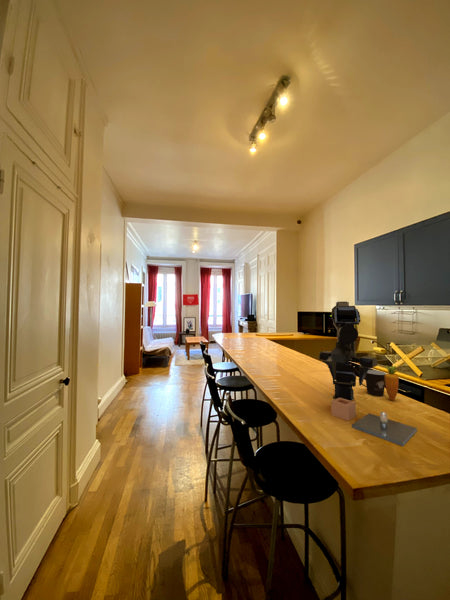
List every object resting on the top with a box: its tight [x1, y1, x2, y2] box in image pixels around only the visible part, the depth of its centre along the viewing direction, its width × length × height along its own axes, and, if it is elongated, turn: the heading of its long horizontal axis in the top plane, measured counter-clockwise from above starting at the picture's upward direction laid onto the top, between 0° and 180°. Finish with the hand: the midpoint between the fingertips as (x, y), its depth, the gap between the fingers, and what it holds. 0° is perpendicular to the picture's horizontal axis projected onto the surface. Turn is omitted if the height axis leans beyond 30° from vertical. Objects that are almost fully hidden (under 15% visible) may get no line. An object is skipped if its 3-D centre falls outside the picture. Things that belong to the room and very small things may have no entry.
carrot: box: [385, 365, 399, 402], centre depth 104 cm, size 5×5×15 cm
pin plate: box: [351, 411, 418, 447], centre depth 79 cm, size 14×14×6 cm
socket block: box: [330, 398, 357, 422], centre depth 89 cm, size 6×6×5 cm
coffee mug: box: [361, 369, 387, 398], centre depth 113 cm, size 12×9×10 cm
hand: (346, 382), depth 89 cm, fingers open, 9 cm apart
